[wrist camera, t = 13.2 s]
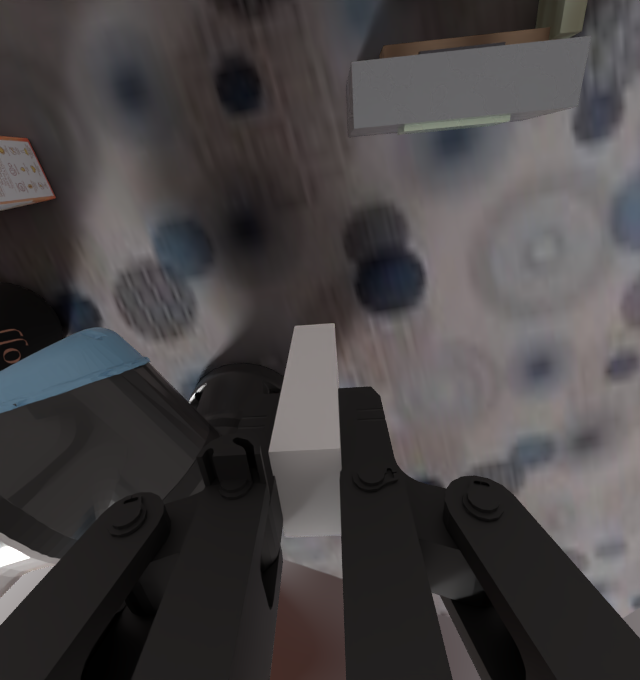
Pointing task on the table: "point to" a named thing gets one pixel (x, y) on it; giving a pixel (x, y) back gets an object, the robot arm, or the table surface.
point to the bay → (551, 24)
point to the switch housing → (465, 86)
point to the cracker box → (21, 175)
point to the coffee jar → (25, 324)
